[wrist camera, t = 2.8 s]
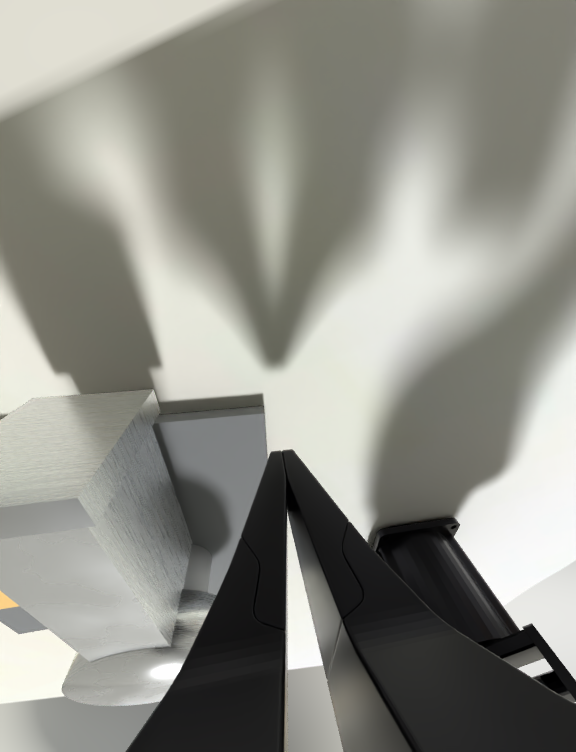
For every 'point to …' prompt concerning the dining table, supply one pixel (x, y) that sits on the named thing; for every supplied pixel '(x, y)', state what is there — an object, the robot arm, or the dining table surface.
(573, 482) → the dining table surface
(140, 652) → the elbow
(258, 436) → the base
